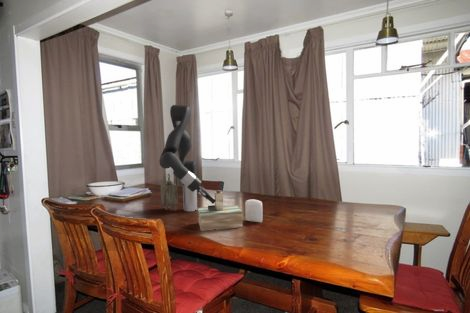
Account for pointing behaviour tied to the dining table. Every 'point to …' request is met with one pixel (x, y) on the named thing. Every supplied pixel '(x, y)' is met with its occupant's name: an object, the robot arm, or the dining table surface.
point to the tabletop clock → (169, 194)
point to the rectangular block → (220, 217)
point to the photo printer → (253, 210)
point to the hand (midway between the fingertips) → (214, 202)
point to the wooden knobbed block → (219, 200)
